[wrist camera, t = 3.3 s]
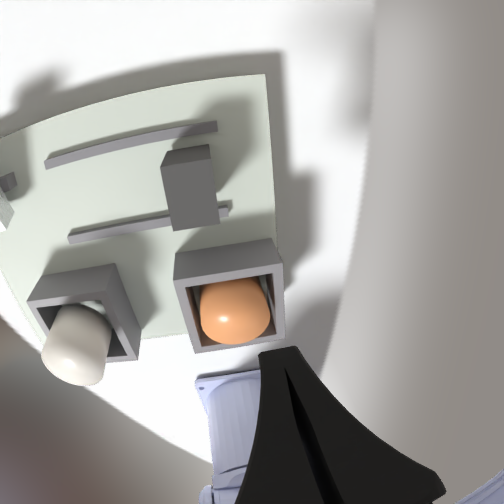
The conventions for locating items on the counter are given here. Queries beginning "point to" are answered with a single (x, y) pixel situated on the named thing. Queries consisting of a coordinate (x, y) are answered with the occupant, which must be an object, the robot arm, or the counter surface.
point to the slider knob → (190, 187)
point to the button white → (77, 345)
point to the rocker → (5, 212)
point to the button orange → (234, 310)
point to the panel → (141, 212)
